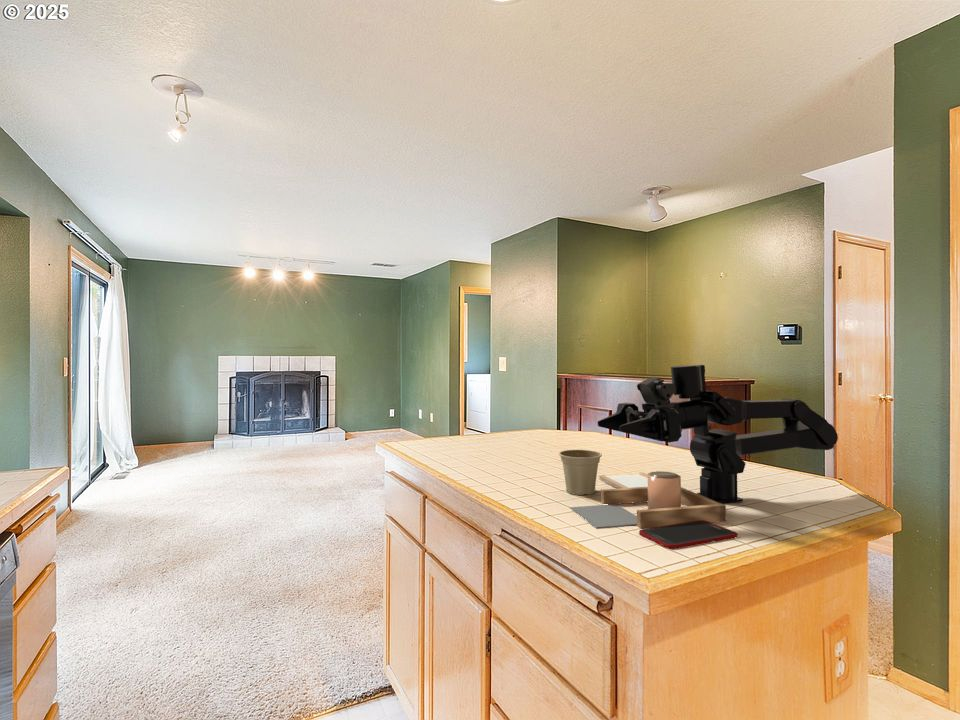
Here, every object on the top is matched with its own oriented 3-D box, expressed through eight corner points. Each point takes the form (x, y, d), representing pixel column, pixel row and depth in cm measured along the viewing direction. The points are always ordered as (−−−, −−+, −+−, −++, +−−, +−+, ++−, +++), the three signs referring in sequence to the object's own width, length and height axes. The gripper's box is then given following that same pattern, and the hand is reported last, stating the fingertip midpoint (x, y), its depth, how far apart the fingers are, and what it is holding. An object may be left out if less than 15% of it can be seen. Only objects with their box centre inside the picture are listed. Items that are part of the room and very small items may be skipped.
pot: (669, 506, 98) (668, 470, 98) (687, 515, 93) (687, 477, 93) (642, 508, 97) (641, 471, 97) (659, 517, 91) (658, 478, 91)
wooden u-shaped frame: (675, 497, 104) (675, 484, 104) (725, 521, 89) (725, 505, 89) (601, 503, 100) (601, 489, 100) (640, 528, 85) (640, 512, 85)
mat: (616, 504, 99) (616, 503, 99) (648, 524, 88) (648, 522, 88) (569, 508, 97) (569, 507, 97) (596, 528, 86) (596, 527, 86)
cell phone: (636, 535, 83) (636, 530, 83) (703, 524, 88) (703, 519, 88) (669, 552, 76) (669, 546, 76) (740, 539, 81) (740, 533, 81)
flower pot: (603, 498, 104) (602, 458, 104) (558, 496, 106) (557, 456, 106) (601, 487, 113) (601, 450, 113) (560, 485, 115) (559, 449, 115)
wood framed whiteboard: (599, 479, 121) (599, 475, 121) (643, 476, 123) (643, 472, 123) (634, 498, 104) (634, 493, 104) (685, 494, 106) (685, 490, 106)
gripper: (648, 376, 110) (584, 384, 107) (703, 377, 92) (628, 387, 88) (653, 426, 110) (589, 435, 107) (709, 436, 92) (634, 448, 88)
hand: (608, 426), depth 97 cm, fingers open, 9 cm apart
